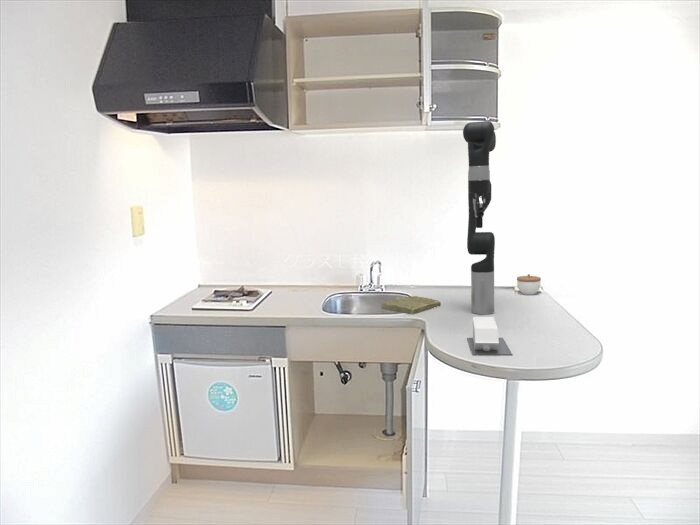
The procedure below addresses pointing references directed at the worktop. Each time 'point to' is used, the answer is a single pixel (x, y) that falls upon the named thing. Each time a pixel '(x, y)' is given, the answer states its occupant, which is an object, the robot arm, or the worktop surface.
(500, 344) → the mat
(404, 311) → the olive green towel
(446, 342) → the worktop surface
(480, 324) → the milk carton
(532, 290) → the lidded jar
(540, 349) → the worktop surface
